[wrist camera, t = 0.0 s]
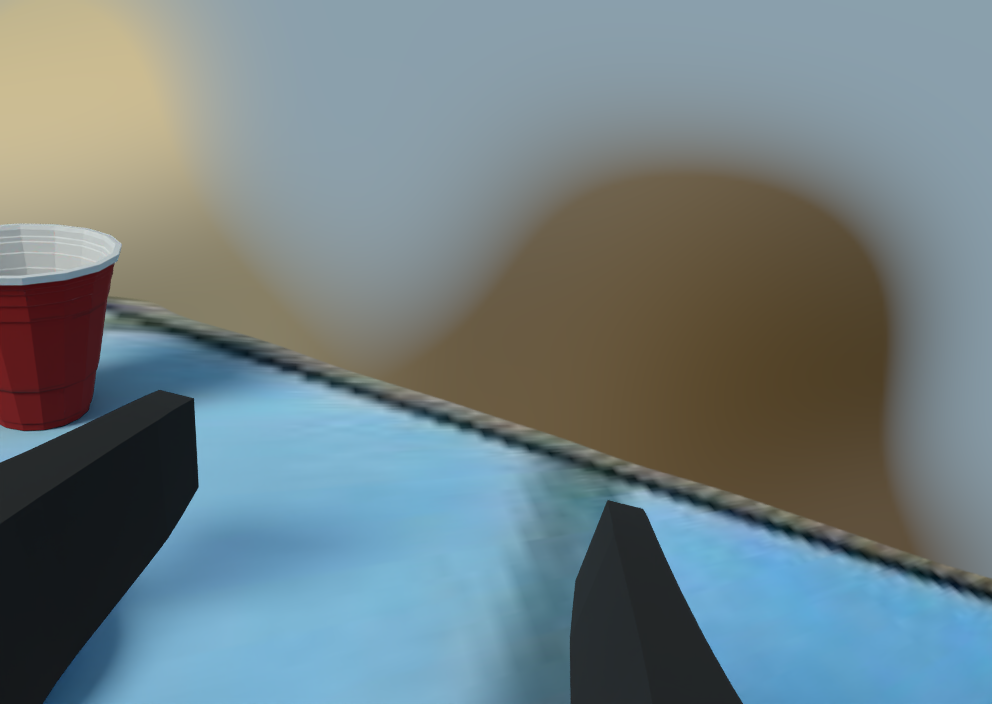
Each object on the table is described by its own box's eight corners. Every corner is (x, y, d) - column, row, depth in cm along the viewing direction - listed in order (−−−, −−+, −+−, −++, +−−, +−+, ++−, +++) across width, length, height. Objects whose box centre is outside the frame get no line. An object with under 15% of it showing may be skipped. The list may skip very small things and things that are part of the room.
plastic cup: (35, 354, 50) (17, 202, 44) (162, 392, 49) (159, 242, 43) (-112, 423, 40) (-157, 240, 35) (44, 473, 39) (22, 292, 34)
